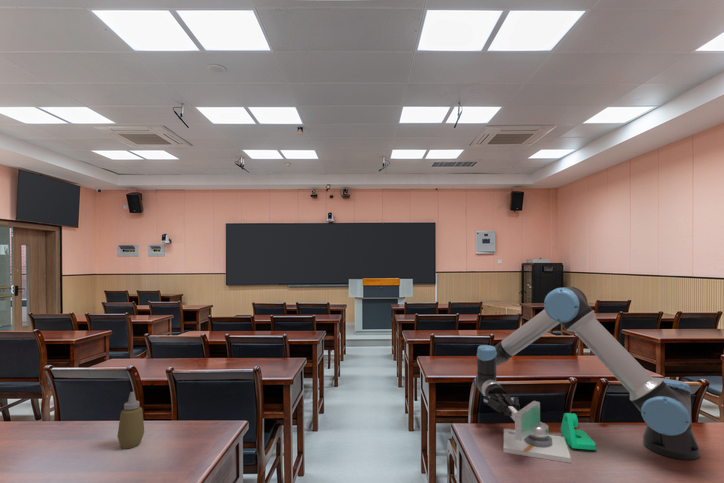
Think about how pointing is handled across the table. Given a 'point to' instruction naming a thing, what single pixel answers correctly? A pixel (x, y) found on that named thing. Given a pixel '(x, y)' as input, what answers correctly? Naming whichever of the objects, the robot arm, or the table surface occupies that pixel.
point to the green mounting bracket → (575, 433)
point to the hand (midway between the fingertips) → (517, 417)
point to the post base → (537, 447)
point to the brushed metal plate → (530, 423)
